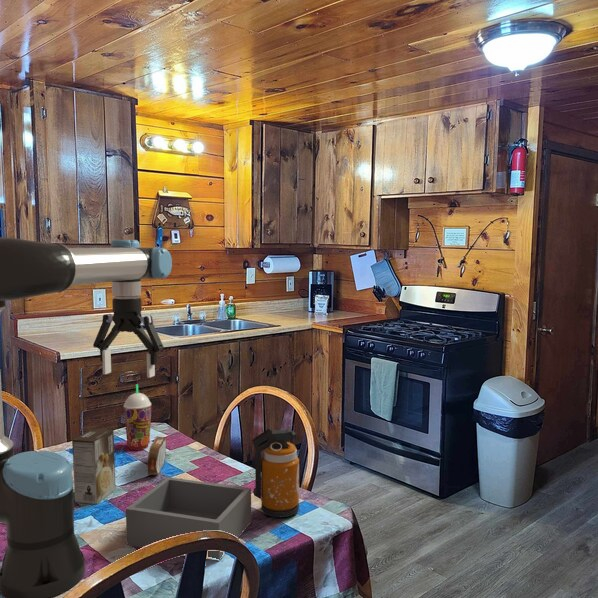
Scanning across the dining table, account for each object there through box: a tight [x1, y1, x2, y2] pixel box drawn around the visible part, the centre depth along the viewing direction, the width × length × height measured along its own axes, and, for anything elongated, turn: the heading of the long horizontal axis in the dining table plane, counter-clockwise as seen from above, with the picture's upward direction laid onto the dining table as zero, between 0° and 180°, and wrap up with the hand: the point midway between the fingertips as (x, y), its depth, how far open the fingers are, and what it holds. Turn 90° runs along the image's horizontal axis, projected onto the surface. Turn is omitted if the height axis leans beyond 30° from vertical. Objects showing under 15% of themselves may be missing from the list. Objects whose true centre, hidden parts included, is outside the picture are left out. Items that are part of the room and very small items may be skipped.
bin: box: [125, 477, 252, 561], centre depth 129 cm, size 17×21×8 cm
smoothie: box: [123, 383, 152, 451], centre depth 182 cm, size 8×8×20 cm
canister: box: [251, 428, 300, 518], centre depth 138 cm, size 9×11×20 cm
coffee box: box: [71, 428, 117, 505], centre depth 147 cm, size 9×6×16 cm
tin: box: [146, 436, 168, 476], centre depth 165 cm, size 15×3×8 cm, turn 2°
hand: (128, 375), depth 159 cm, fingers open, 13 cm apart
